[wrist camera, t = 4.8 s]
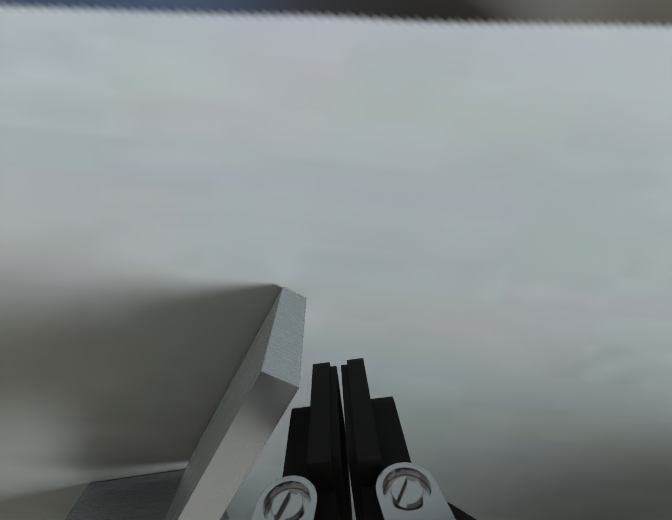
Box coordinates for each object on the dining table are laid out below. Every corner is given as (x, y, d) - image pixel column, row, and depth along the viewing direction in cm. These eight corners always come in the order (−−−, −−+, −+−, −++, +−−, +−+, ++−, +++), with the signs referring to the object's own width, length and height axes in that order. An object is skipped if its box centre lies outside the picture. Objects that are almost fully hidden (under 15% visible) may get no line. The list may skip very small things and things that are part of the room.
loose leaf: (306, 298, 14) (299, 387, 9) (212, 464, 16) (160, 617, 11) (282, 286, 14) (261, 370, 9) (191, 456, 16) (128, 608, 11)
